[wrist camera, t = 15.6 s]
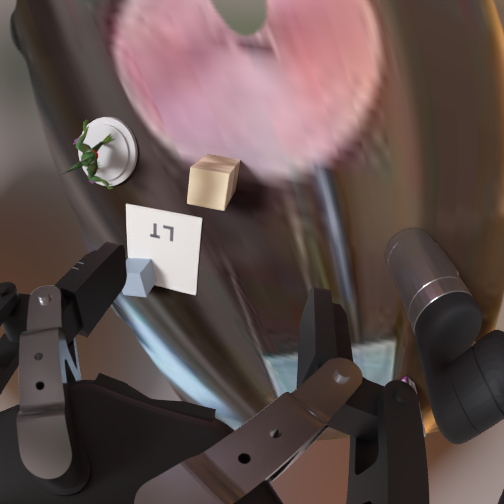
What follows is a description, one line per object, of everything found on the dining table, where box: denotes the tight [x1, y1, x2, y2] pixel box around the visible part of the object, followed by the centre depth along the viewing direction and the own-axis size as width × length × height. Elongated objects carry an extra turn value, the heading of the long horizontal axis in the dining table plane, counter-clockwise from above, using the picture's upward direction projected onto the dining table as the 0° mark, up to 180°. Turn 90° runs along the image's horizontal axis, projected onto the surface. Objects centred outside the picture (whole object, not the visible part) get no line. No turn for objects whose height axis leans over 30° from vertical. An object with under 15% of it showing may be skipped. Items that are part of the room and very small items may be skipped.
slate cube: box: [122, 258, 156, 297], centre depth 53 cm, size 5×5×5 cm
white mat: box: [126, 204, 202, 295], centre depth 53 cm, size 14×16×1 cm
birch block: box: [187, 154, 240, 211], centre depth 41 cm, size 5×5×8 cm
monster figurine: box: [61, 117, 138, 189], centre depth 40 cm, size 12×12×10 cm
